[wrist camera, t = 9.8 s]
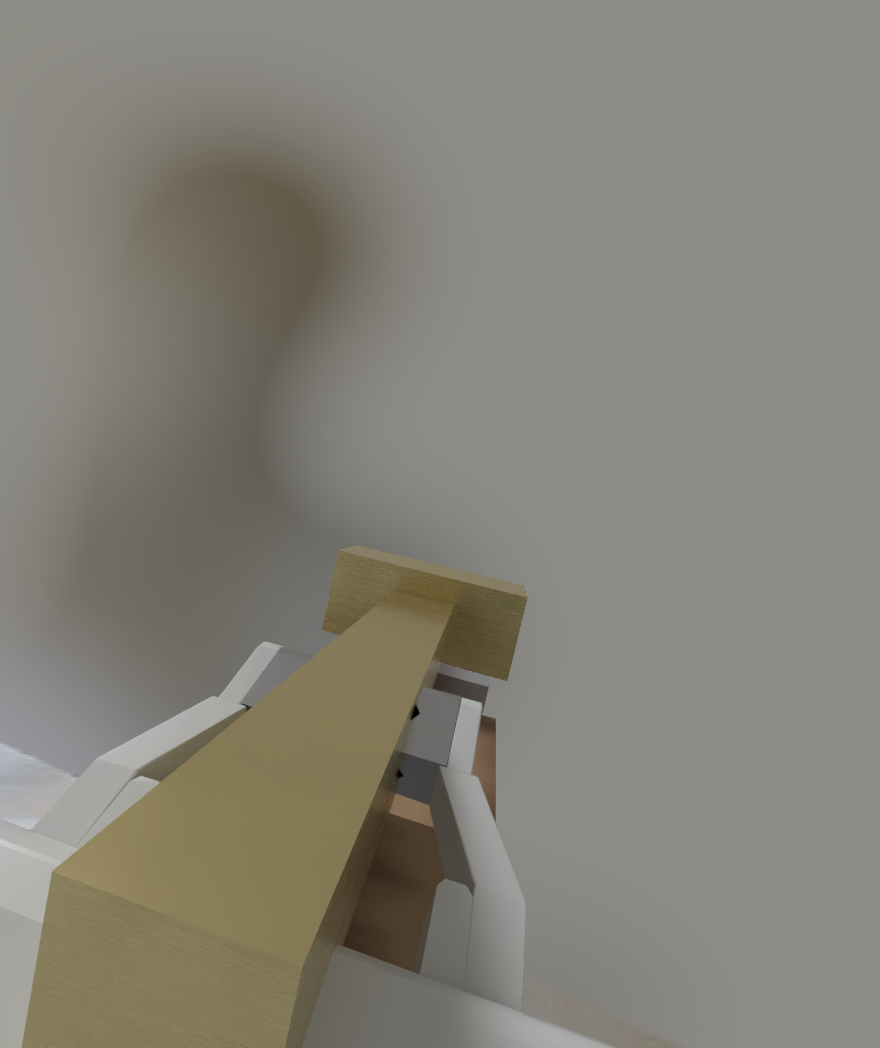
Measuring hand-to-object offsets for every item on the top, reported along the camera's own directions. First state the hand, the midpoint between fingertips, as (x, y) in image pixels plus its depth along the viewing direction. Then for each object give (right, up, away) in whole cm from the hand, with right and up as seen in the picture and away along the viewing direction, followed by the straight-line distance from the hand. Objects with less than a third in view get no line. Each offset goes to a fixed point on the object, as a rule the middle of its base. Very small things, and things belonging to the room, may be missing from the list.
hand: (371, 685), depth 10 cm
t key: (0, -2, +2) cm, 2 cm away
